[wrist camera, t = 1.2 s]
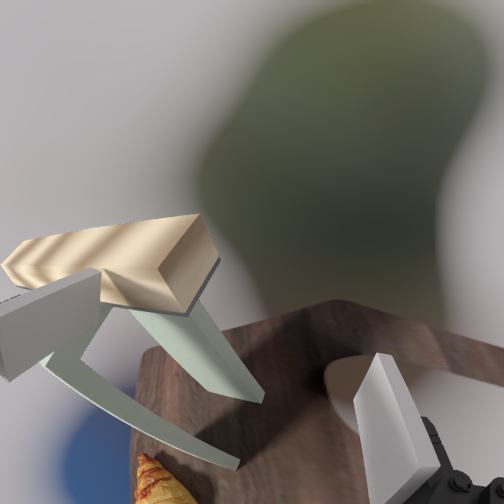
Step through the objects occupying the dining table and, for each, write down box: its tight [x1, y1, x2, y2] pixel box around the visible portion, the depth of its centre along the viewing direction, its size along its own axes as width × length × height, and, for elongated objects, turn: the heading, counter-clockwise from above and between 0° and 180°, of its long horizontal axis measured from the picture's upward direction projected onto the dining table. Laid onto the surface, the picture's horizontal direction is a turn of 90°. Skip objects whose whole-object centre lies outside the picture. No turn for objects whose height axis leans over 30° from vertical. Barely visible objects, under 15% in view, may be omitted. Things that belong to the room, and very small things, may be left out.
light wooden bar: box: [1, 214, 221, 317], centre depth 19 cm, size 24×4×3 cm, turn 72°
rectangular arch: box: [38, 225, 265, 471], centre depth 31 cm, size 10×14×34 cm
